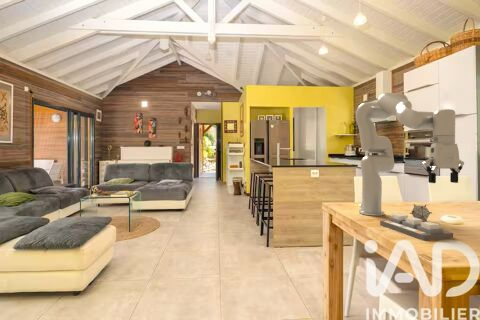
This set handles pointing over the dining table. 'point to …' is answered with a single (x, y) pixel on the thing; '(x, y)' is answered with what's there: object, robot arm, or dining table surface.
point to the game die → (420, 212)
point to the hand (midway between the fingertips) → (443, 182)
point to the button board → (416, 230)
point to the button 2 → (429, 225)
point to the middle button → (414, 220)
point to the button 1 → (399, 216)
